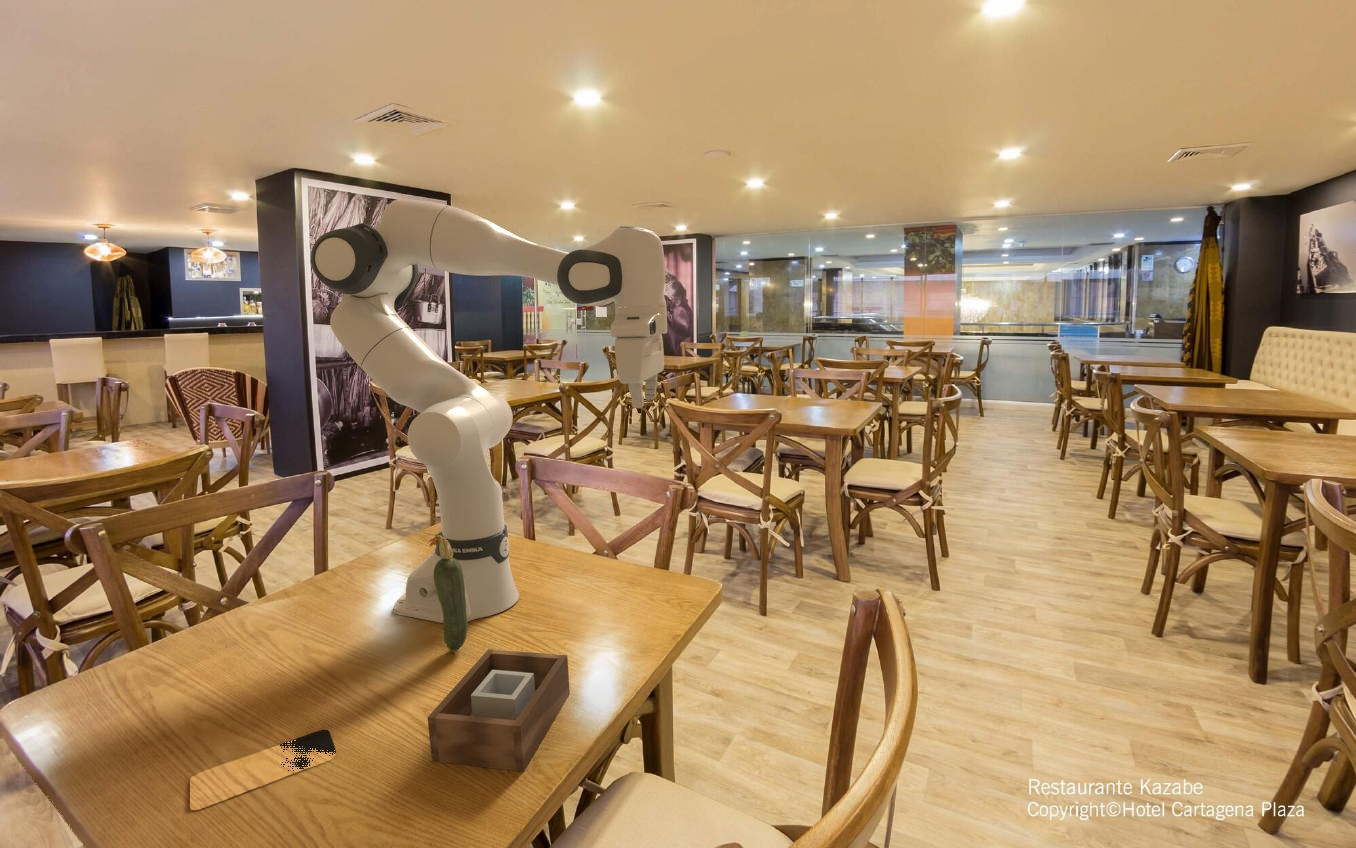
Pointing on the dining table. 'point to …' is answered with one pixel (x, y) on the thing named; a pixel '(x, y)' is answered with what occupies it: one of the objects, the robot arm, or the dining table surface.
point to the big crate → (499, 739)
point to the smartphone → (311, 746)
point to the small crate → (503, 694)
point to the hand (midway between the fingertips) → (644, 403)
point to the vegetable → (451, 595)
